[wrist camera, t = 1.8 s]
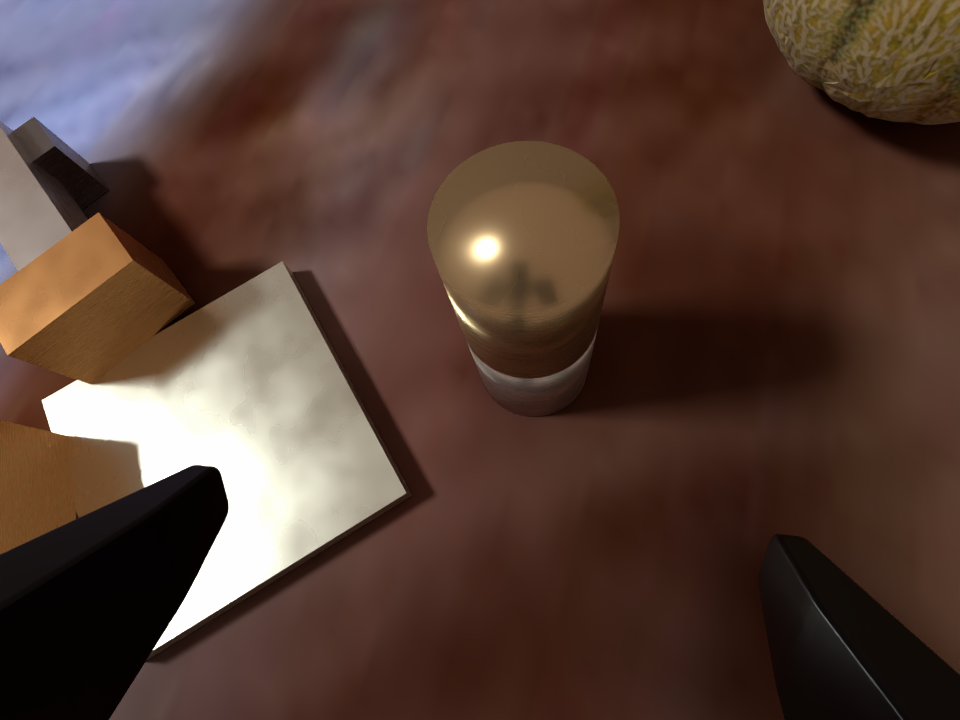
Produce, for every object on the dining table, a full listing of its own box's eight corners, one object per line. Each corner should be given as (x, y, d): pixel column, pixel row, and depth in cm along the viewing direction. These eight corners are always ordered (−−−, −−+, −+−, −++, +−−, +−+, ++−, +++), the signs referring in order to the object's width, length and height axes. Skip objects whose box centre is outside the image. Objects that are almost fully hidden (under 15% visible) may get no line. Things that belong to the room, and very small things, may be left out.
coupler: (516, 437, 23) (489, 345, 12) (460, 349, 24) (394, 200, 14) (610, 379, 23) (660, 241, 13) (549, 296, 24) (549, 111, 14)
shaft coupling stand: (-158, 849, 21) (-367, 939, 16) (-224, 333, 29) (-376, 291, 24) (412, 495, 22) (376, 481, 18) (199, 100, 30) (135, 18, 26)
